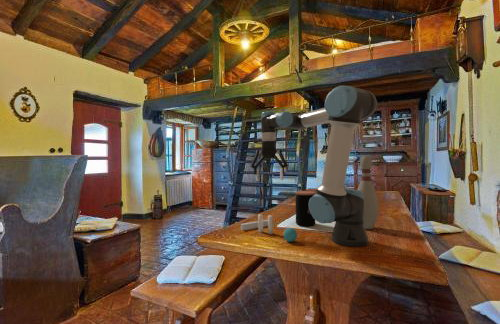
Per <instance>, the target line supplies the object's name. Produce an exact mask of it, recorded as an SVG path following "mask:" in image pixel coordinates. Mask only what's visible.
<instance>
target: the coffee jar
mask: <svg viewBox="0 0 500 324" xmlns="http://www.w3.org/2000/svg"><path fill="white" fill-rule="evenodd" d="M314 195H316V192H315V191H311V190H309V191H308V190H298V191H295V224H296V225H297V226H298V225H299V227H305V228H307V227H310V226H311V227H314V226H315V225H316V220H315V219H314V218H313V217H312V214H311V213H310V211H309V200H310V198H311V197H313V196H314Z"/></svg>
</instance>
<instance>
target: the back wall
mask: <svg viewBox="0 0 500 324" xmlns="http://www.w3.org/2000/svg"><path fill="white" fill-rule="evenodd" d="M264 227H268V219H263V228H264ZM254 229H258V220H257V221H250V222H245V223H240V230H241V231H248V230H254Z"/></svg>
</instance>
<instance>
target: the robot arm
mask: <svg viewBox="0 0 500 324" xmlns="http://www.w3.org/2000/svg"><path fill="white" fill-rule="evenodd" d="M377 105H378V101H377V98H376V96H375V95H374V93H373V92H371V91H369V90H367V89H362V88H358V87H355V86H351V85H338V86H336V87H334V88H333V89H332V90H330V91H329V92H328V94H327V95H326V97H325V100H324V107H322V108H318V109H314V110H310V111H307V112H304V113H300V114H298V113H297V114H296V113H291V112H290V111H280V112H274V111H272V110H271V111H270V110H267V111H263V112H261V114H260V116H261V117H260V124H261V129H260V130H261V150H259V149H256V150H255V155H254V157H253V159H252V161H251V164H250V168H253V175H255V182H259V181H260V180H259V179H260V178H259V168H258V167H259V166H260V164H261V163H262V162H263V161H264V160H265V159H273V160H275V162H276V163H277V164H278V165H279V166H280V168H279V178H280V179H279V180H280V181H284V174H285V171H286V170H285V168H286V167H287V168H288V166H289V164H288V163H287V161H286V158H285V157H284V155H283V152H282V149H278V150H277V142H276V140H277V139H276V138H277V137H276V129H293V130H296V129H297V130H306V129H308V128H311V127H315V126H320V125H325V124H330V132H329V137H328V144H327V151H326V155H325V162H324V163H325V164H324V168H323V175H322V179H321V184H320V185H317V188H316V192H315V195H314V196H313V197H311V198H310V200H309V211H310V213H311V214H312V217H313V218H314V219H315V222H318V223H320V224H332V223H334V222H335V223H334V227H333V229H332V233H331V241H332V242H333V243H335V244H338V245H340V246H344V247H345V246H346V247H364V246H367V245H368V244H369V236H368V234H367V231H366V230H367V229H365V227H364V197H363V192H362V191H360V190H357V189H348V188H344V187H345V183H346V177H347V170H348V165H349V161H350V155H351V150H352V145H353V139H354V134H355V129H356V128H358V126H360V124H361V120H366V119H368V118H369V117H371V116H372V115H373V114H374V113H375V111H376V109H377V108H378V107H377ZM260 154H261V156H260V159H259V160H258V158H259V155H260ZM276 154H277V155H278V156H279V158H280V159H279V158H278V156H277V155H276Z"/></svg>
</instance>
